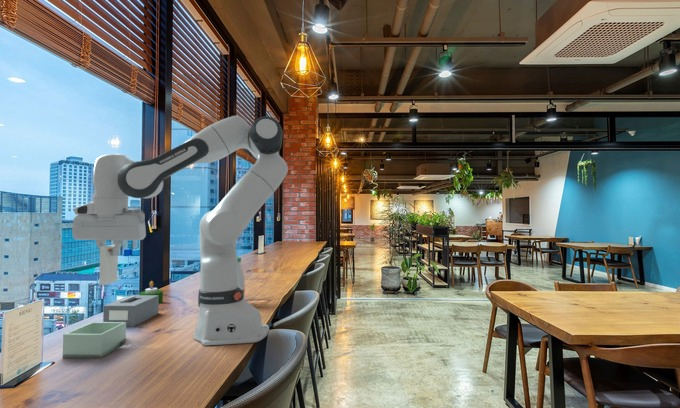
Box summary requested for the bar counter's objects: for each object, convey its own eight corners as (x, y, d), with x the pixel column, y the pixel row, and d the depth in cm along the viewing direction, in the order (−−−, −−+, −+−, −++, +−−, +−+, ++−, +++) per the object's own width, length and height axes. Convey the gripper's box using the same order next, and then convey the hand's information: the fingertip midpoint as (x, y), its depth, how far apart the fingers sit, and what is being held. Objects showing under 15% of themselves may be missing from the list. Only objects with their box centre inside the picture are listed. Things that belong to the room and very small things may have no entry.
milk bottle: (246, 304, 139) (247, 256, 139) (241, 310, 131) (242, 258, 132) (227, 304, 138) (228, 256, 139) (221, 310, 131) (222, 258, 131)
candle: (166, 304, 139) (167, 280, 139) (146, 309, 132) (146, 283, 132) (155, 301, 143) (156, 278, 143) (135, 306, 136) (135, 281, 136)
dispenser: (158, 317, 121) (158, 293, 121) (133, 331, 107) (134, 304, 107) (130, 317, 121) (131, 293, 122) (102, 331, 107) (103, 303, 107)
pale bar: (117, 281, 101) (118, 244, 101) (104, 285, 96) (105, 246, 96) (111, 281, 101) (112, 244, 102) (99, 284, 96) (100, 246, 97)
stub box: (125, 343, 97) (126, 322, 97) (100, 358, 87) (101, 334, 87) (91, 342, 97) (92, 322, 97) (62, 357, 87) (63, 334, 87)
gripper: (151, 209, 102) (150, 254, 102) (86, 208, 103) (84, 253, 103) (137, 208, 96) (136, 257, 95) (68, 208, 97) (67, 256, 96)
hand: (109, 255), depth 99 cm, fingers closed on pale bar, 2 cm apart
